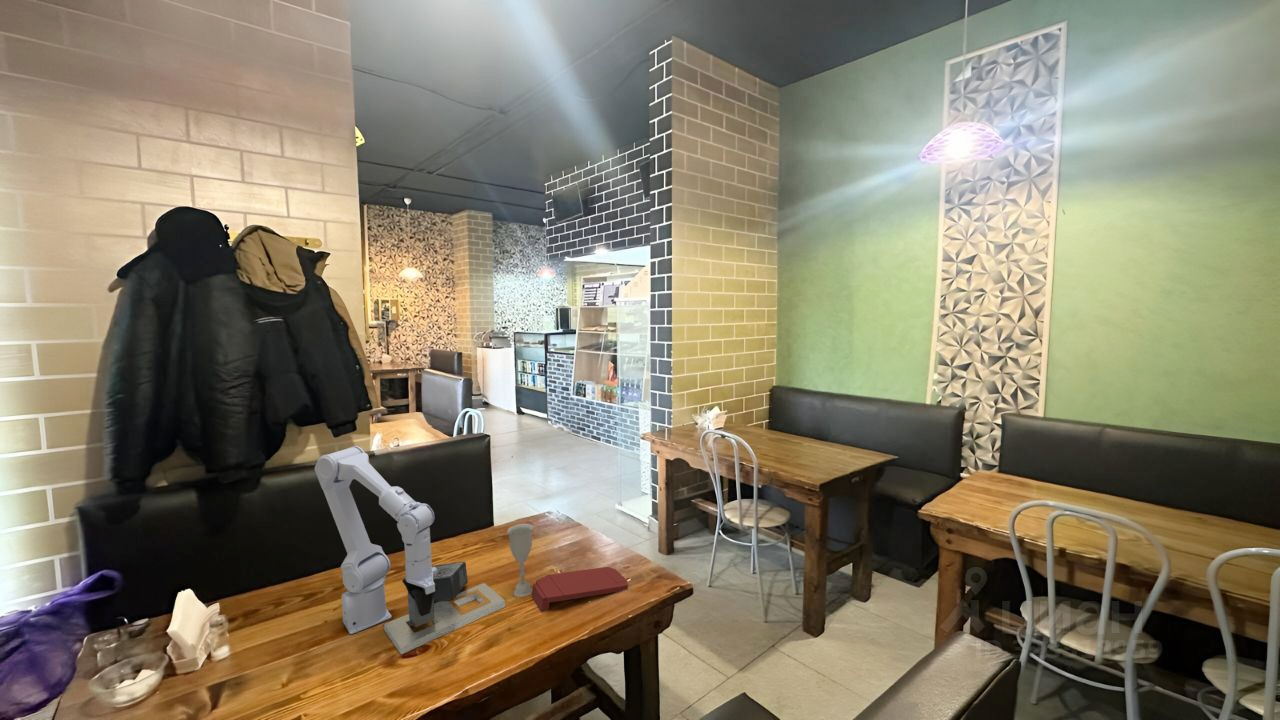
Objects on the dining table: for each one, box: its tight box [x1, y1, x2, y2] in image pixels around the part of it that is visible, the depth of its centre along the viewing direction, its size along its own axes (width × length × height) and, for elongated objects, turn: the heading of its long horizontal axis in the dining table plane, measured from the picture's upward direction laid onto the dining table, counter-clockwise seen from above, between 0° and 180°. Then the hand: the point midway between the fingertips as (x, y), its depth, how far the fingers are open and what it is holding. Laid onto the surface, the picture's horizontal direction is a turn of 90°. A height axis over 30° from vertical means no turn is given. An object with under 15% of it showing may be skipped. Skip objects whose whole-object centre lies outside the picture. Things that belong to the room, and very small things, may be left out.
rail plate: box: [383, 582, 506, 655], centre depth 125 cm, size 26×12×2 cm, turn 133°
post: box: [407, 591, 435, 628], centre depth 120 cm, size 4×4×7 cm
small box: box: [432, 561, 469, 603], centre depth 134 cm, size 11×6×10 cm
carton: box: [531, 566, 628, 613], centre depth 136 cm, size 12×5×25 cm
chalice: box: [507, 523, 534, 598], centre depth 135 cm, size 7×7×18 cm
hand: (421, 609), depth 120 cm, fingers closed on post, 4 cm apart
